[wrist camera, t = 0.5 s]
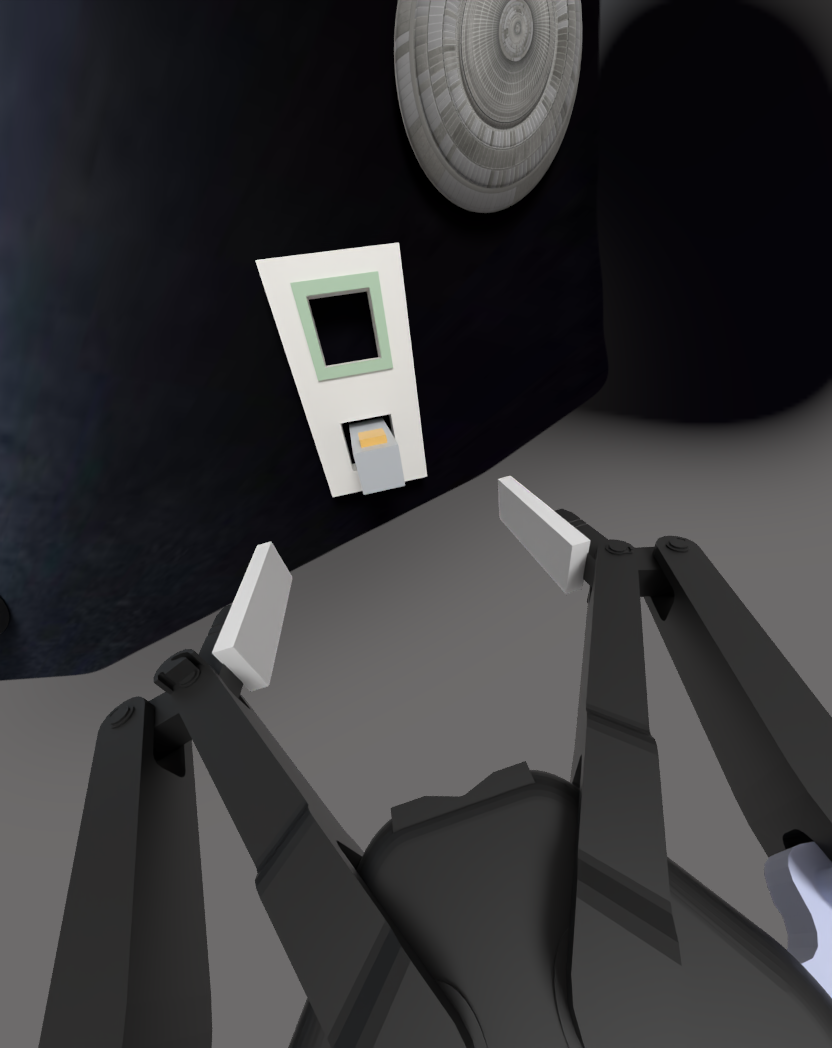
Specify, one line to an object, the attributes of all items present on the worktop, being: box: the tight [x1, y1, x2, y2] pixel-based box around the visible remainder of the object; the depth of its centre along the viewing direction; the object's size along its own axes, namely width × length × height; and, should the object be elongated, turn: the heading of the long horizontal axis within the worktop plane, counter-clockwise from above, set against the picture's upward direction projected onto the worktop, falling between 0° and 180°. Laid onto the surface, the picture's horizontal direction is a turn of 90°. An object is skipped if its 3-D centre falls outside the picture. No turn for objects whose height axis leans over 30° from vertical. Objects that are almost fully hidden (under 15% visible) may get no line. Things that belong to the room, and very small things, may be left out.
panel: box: [255, 243, 427, 497], centre depth 32 cm, size 12×22×3 cm, turn 8°
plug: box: [349, 418, 405, 495], centre depth 31 cm, size 4×5×11 cm
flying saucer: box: [394, 0, 582, 213], centre depth 21 cm, size 15×15×6 cm
